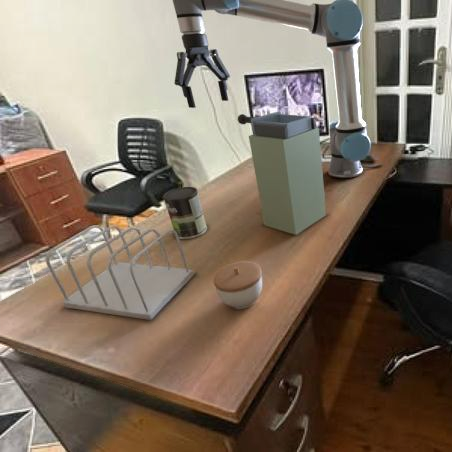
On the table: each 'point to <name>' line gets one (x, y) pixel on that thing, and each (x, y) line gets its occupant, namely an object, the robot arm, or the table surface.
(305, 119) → the grey drawer
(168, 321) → the table surface
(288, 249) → the table surface
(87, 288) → the file sorter
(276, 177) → the stand
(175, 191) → the coffee can
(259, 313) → the table surface
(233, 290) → the trinket box
